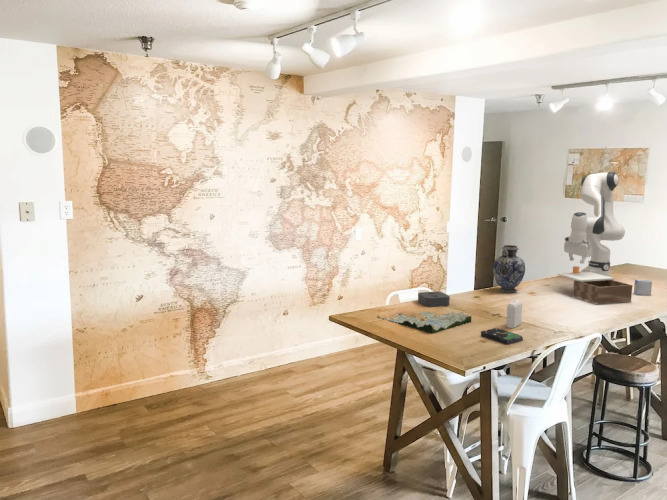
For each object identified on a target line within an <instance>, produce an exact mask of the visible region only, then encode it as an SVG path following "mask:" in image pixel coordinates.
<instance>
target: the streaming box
mask: <svg viewBox="0 0 667 500" xmlns="http://www.w3.org/2000/svg"><path fill="white" fill-rule="evenodd" d="M417 295H418V296H417V302H418V303H419V304H421V305H422V306H424V307H426V308H427V307H428V308H434V307H448V306H450V298H451V296H450V295H448V294H447V293H444V292H442V291H421V292H418V293H417Z"/></svg>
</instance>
